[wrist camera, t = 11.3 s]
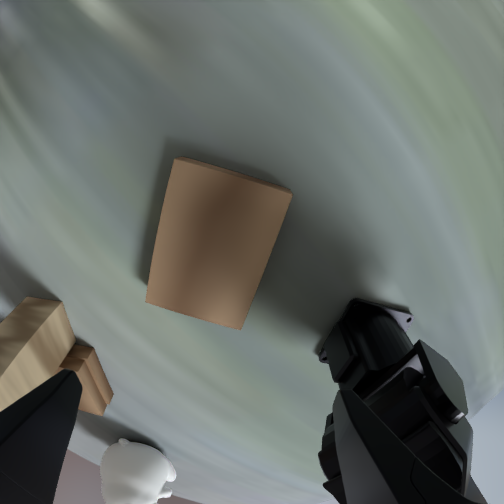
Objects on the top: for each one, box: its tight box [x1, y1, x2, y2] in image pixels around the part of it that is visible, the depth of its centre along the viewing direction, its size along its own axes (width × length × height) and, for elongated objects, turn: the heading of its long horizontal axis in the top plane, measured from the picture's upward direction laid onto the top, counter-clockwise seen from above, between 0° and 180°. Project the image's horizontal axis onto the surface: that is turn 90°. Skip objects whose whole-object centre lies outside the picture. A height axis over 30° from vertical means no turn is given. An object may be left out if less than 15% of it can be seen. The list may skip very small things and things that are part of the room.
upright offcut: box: [0, 297, 76, 412], centre depth 17 cm, size 5×4×12 cm
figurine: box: [100, 438, 176, 504], centre depth 26 cm, size 10×10×12 cm
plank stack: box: [53, 344, 114, 416], centre depth 23 cm, size 17×7×3 cm, turn 89°
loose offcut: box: [145, 156, 293, 330], centre depth 18 cm, size 7×10×2 cm
